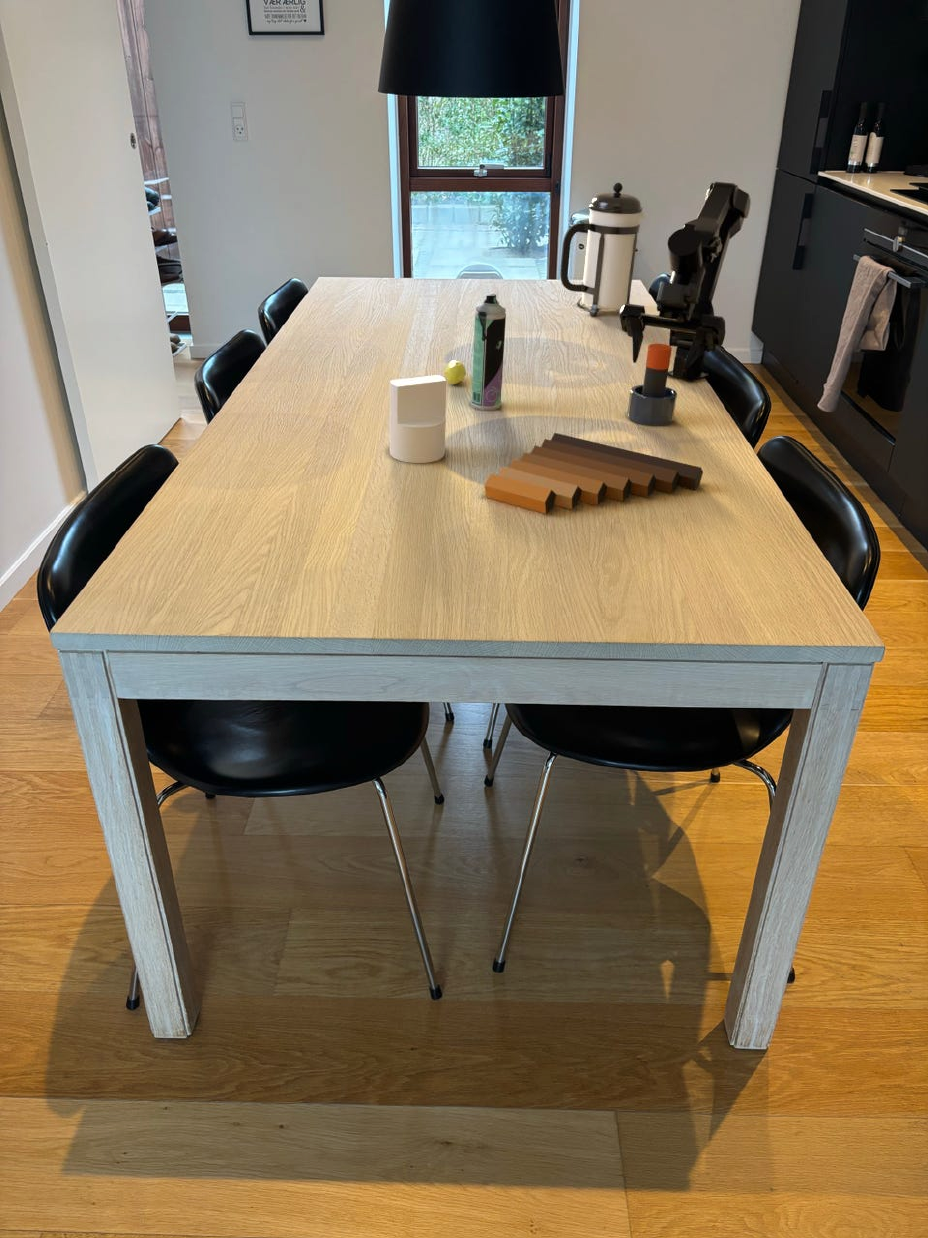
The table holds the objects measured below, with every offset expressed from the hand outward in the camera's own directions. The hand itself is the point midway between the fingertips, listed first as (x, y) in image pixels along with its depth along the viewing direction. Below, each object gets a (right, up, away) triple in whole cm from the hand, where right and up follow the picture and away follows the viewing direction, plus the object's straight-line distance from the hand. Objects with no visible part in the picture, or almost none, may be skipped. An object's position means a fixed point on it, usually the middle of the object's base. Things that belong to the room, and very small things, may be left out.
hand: (658, 365), depth 173 cm
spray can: (-31, -6, +6) cm, 32 cm away
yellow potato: (-37, +2, +18) cm, 41 cm away
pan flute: (-15, -26, -26) cm, 40 cm away
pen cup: (-1, -9, +4) cm, 9 cm away
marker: (-1, -8, +4) cm, 9 cm away
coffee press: (0, +33, +72) cm, 79 cm away
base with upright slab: (-43, -18, -15) cm, 49 cm away
